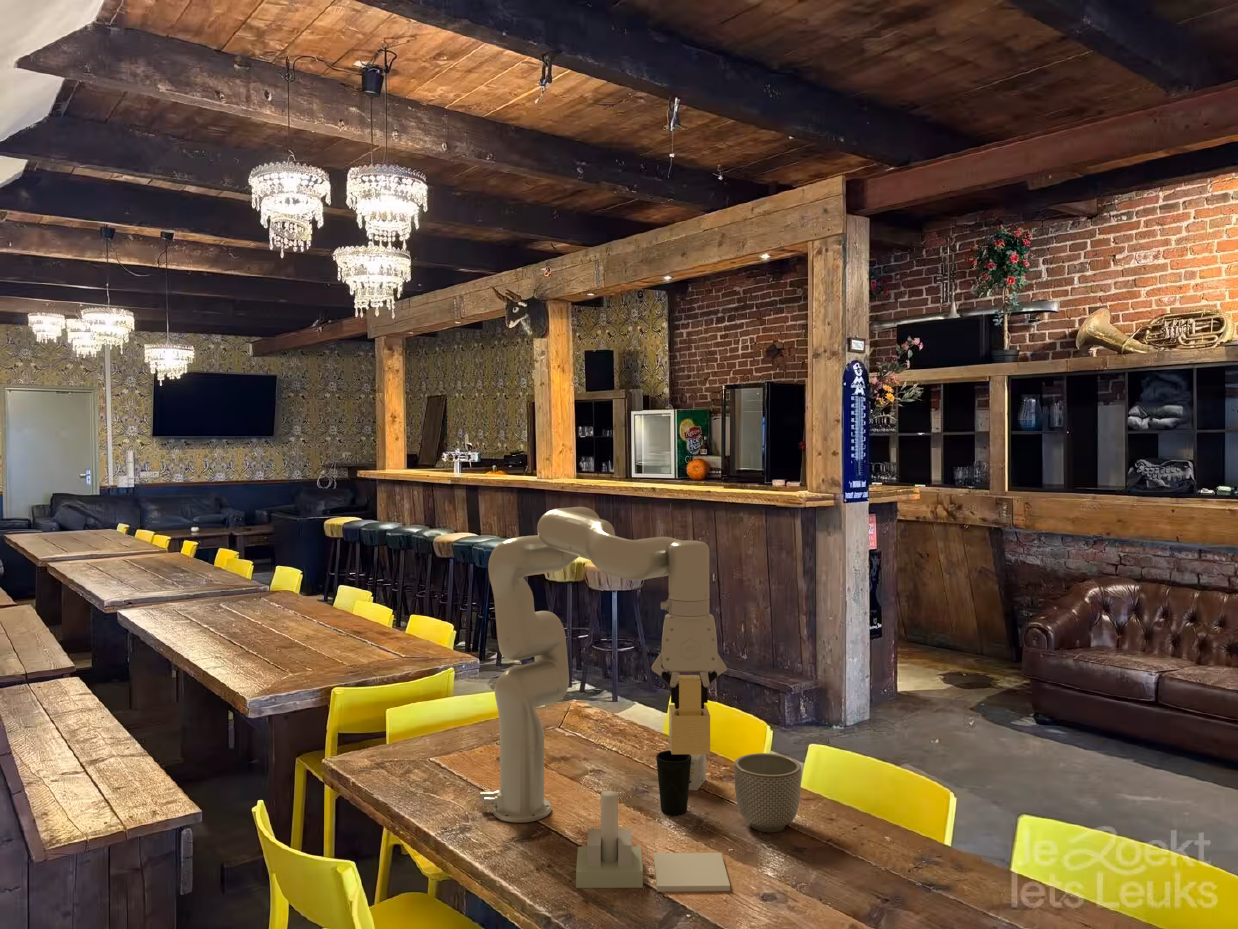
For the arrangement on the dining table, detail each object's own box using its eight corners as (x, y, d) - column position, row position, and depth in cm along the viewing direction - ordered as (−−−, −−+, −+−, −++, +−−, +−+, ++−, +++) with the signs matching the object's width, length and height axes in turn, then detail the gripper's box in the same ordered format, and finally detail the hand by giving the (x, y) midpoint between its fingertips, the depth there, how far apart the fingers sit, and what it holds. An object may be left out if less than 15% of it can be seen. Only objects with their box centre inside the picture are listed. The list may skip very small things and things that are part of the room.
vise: (576, 888, 161) (575, 805, 161) (578, 862, 171) (577, 784, 171) (642, 887, 161) (642, 804, 161) (640, 862, 171) (640, 784, 171)
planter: (786, 846, 178) (786, 781, 178) (722, 830, 185) (722, 768, 185) (811, 821, 190) (811, 760, 189) (750, 807, 197) (750, 748, 197)
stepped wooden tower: (671, 754, 162) (671, 682, 162) (669, 741, 169) (668, 673, 169) (710, 754, 162) (710, 682, 162) (706, 741, 169) (706, 673, 169)
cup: (689, 819, 191) (689, 763, 190) (653, 816, 192) (653, 761, 192) (693, 805, 198) (693, 751, 198) (659, 802, 200) (659, 749, 199)
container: (665, 786, 209) (665, 731, 209) (675, 775, 216) (675, 722, 216) (696, 791, 206) (696, 735, 206) (706, 780, 213) (706, 725, 213)
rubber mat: (657, 891, 160) (657, 886, 160) (653, 858, 173) (653, 853, 173) (730, 891, 160) (730, 885, 160) (721, 857, 173) (721, 852, 173)
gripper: (644, 612, 161) (644, 713, 162) (737, 611, 162) (737, 712, 162) (642, 604, 169) (643, 701, 169) (731, 604, 169) (731, 701, 169)
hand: (689, 705), depth 166 cm, fingers closed on stepped wooden tower, 4 cm apart
